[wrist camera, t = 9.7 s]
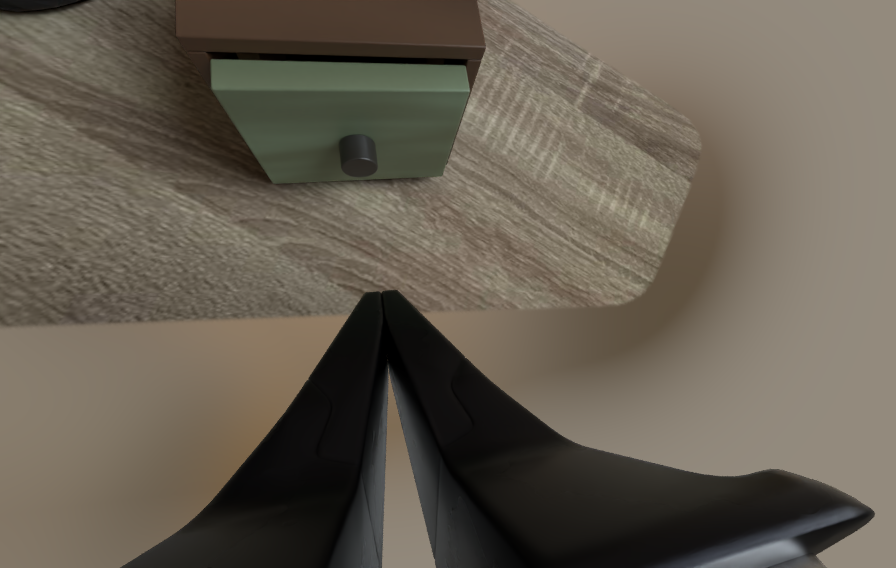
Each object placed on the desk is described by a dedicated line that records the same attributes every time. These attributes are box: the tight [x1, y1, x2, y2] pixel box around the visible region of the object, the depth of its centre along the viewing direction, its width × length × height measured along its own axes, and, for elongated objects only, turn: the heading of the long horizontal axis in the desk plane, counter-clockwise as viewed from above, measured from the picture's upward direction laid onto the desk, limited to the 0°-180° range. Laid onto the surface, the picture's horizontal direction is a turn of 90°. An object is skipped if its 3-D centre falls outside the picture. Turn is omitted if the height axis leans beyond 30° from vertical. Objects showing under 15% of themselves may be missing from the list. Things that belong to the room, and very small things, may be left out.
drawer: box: [210, 53, 470, 184], centre depth 16 cm, size 10×9×7 cm
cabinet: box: [175, 0, 486, 170], centre depth 16 cm, size 10×10×8 cm
